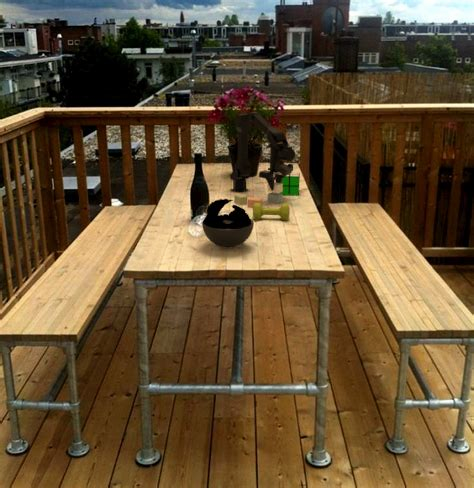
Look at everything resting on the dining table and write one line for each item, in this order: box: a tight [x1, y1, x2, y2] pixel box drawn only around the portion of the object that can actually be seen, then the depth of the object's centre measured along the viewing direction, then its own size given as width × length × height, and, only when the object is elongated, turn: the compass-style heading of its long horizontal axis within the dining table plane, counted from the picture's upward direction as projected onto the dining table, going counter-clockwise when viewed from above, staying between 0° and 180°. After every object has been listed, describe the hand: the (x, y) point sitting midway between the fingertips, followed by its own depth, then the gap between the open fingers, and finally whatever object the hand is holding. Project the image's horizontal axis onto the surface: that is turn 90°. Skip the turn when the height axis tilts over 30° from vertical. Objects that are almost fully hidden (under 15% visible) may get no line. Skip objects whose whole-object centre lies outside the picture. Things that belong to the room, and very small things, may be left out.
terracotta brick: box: [247, 197, 263, 209], centre depth 300 cm, size 6×4×4 cm, turn 71°
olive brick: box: [233, 193, 248, 206], centre depth 306 cm, size 6×4×4 cm, turn 26°
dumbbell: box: [252, 202, 291, 221], centre depth 282 cm, size 16×8×7 cm, turn 87°
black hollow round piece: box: [201, 198, 255, 249], centre depth 245 cm, size 20×20×19 cm
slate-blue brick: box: [267, 192, 283, 204], centre depth 310 cm, size 6×4×4 cm, turn 54°
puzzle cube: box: [280, 171, 301, 196], centre depth 324 cm, size 10×10×10 cm
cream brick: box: [267, 181, 283, 193], centre depth 308 cm, size 6×4×4 cm, turn 50°
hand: (275, 189), depth 308 cm, fingers closed on cream brick, 4 cm apart
